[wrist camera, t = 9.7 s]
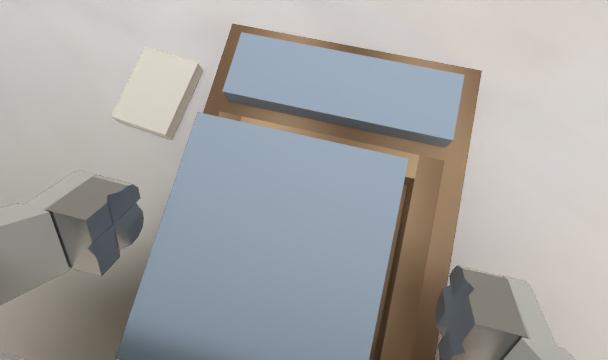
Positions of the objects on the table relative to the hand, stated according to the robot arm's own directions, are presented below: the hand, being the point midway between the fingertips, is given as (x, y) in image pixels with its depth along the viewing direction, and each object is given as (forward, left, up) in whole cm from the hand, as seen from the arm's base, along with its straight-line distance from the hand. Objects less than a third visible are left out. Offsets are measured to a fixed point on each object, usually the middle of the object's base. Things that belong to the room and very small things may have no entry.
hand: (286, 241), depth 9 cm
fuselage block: (0, 0, -6) cm, 6 cm away
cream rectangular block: (-9, +6, -8) cm, 13 cm away
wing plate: (0, +7, -6) cm, 9 cm away
